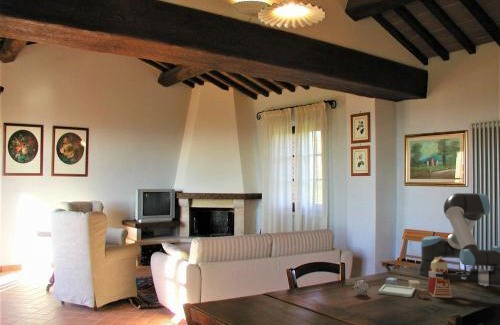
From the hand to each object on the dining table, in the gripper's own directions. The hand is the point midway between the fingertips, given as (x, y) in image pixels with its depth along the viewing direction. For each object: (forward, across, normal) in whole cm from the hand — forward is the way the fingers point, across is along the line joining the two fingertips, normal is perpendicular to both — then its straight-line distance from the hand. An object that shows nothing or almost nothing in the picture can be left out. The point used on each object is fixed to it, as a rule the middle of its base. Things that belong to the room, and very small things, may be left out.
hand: (429, 272), depth 232 cm
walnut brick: (+2, -9, -11) cm, 15 cm away
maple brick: (+8, +8, -11) cm, 16 cm away
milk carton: (-5, 0, -11) cm, 12 cm away
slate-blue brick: (+20, +9, -11) cm, 25 cm away
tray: (+15, -4, -11) cm, 19 cm away
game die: (+30, -20, -11) cm, 38 cm away
